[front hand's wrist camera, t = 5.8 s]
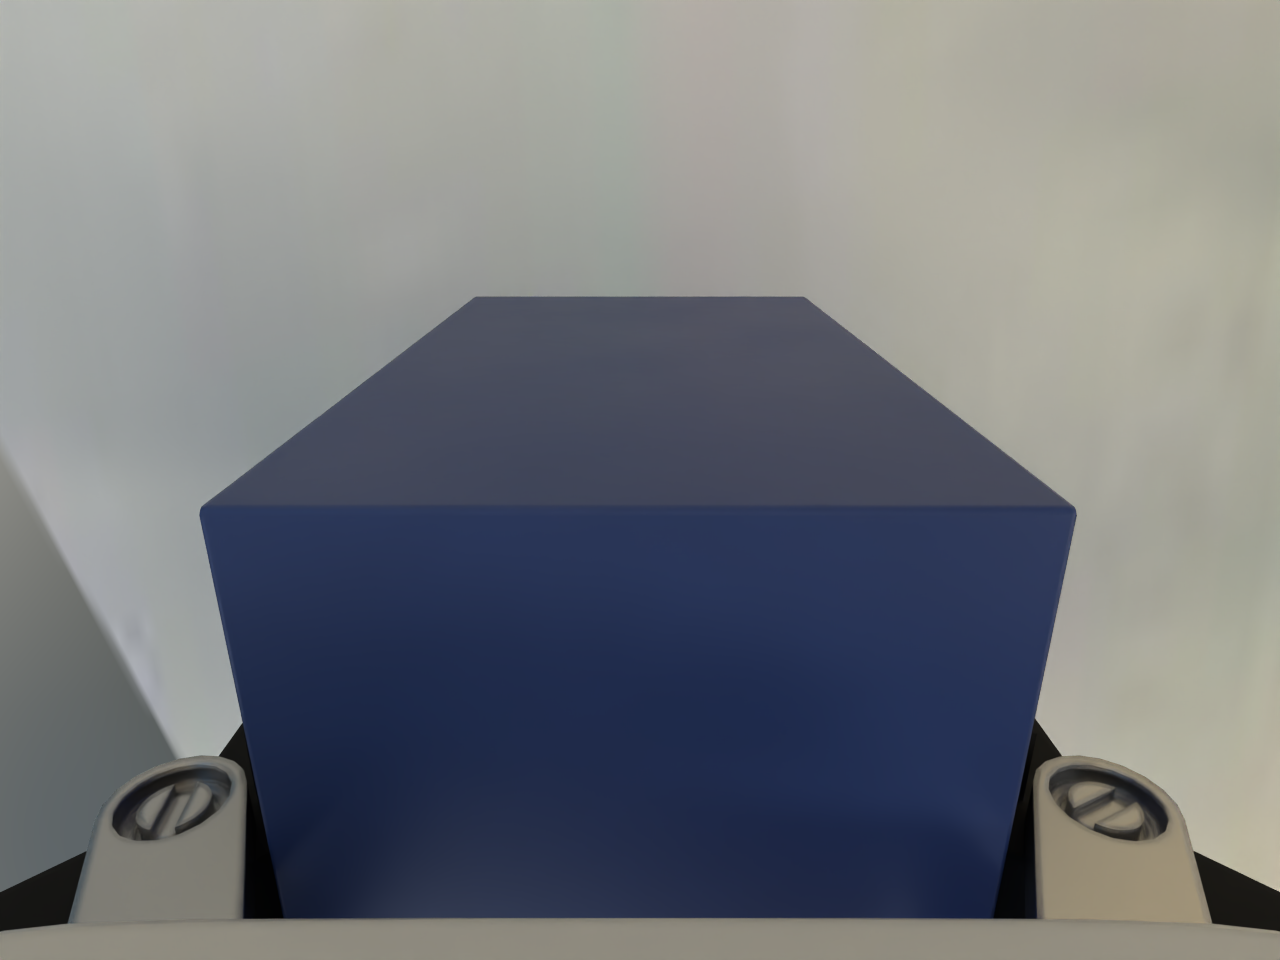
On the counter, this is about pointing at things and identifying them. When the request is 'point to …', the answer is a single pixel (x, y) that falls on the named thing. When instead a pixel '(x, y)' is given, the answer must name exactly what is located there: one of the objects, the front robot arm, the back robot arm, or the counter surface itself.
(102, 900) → the front robot arm
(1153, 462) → the counter surface
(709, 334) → the block
